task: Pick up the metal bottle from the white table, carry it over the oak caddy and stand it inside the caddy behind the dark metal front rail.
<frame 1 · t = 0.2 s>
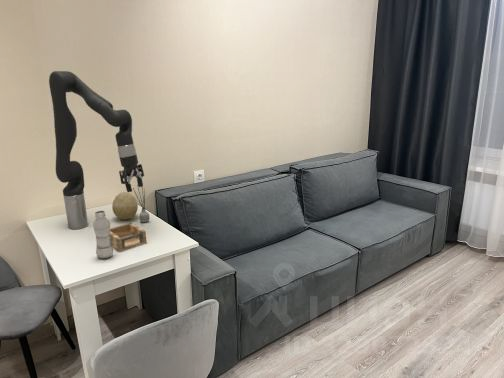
hand: (135, 189, 173), 23 cm above the table, tool pointing down, fingers open, 8 cm apart
metal bottle: (105, 257, 158), on the table
fossilized egg: (126, 219, 200), on the table
caddy: (126, 242, 171), on the table
reed diffuser: (142, 222, 196), on the table
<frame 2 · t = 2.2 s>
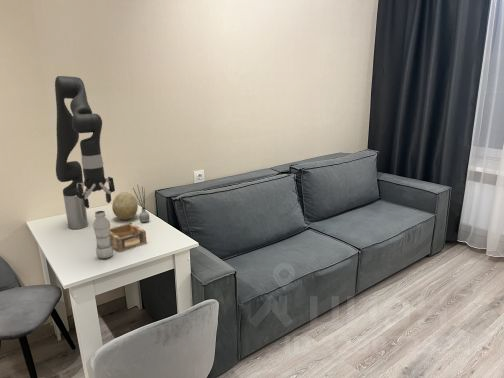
hand: (98, 205, 151), 23 cm above the table, tool pointing down, fingers open, 8 cm apart
nothing on the table moved.
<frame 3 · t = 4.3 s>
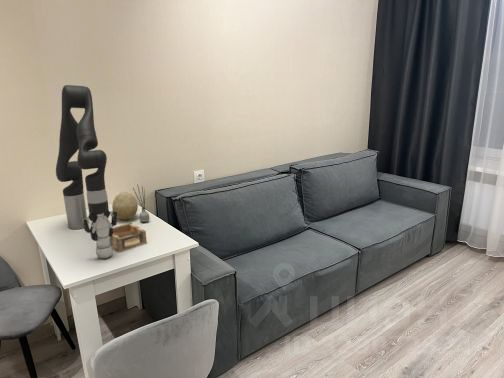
hand: (102, 238, 155), 9 cm above the table, tool pointing down, fingers closed on metal bottle, 6 cm apart
metal bottle: (105, 257, 158), on the table, touching gripper
everything else where it was.
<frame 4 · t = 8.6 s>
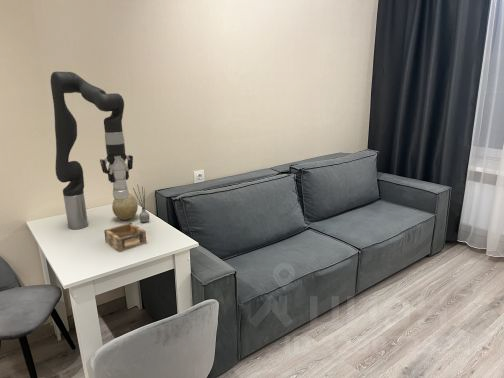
hand: (119, 180, 163), 29 cm above the table, tool pointing down, fingers closed on metal bottle, 6 cm apart
metal bottle: (121, 199, 165), point 21 cm above the table, touching gripper
everything else where it was.
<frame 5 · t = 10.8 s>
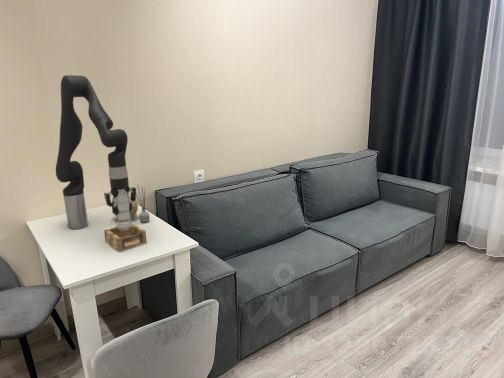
hand: (122, 212, 167), 15 cm above the table, tool pointing down, fingers closed on metal bottle, 6 cm apart
metal bottle: (125, 230, 169), point 6 cm above the table, touching gripper
everything else where it was.
when the fingers open (10 cm above the table, at t = 12.9 s): metal bottle stays where it is, resting on caddy.
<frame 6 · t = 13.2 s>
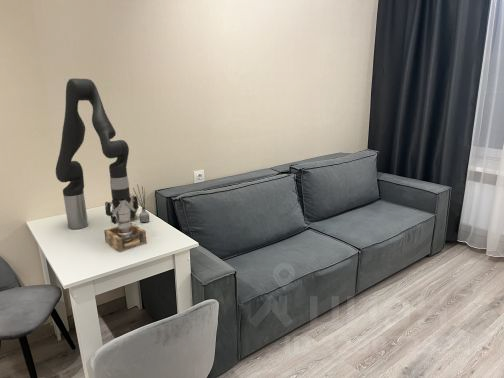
hand: (123, 221, 168), 11 cm above the table, tool pointing down, fingers open, 8 cm apart
metal bottle: (125, 241, 171), point 1 cm above the table, touching caddy
everything else where it was.
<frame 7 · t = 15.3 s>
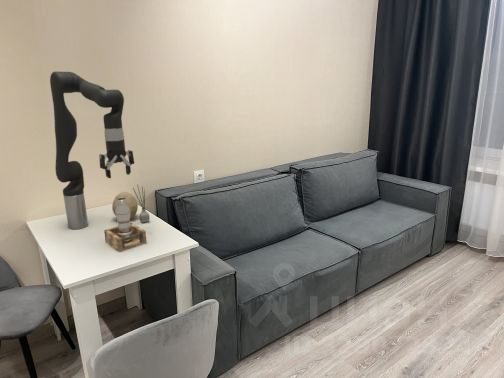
hand: (118, 176, 162), 31 cm above the table, tool pointing down, fingers open, 8 cm apart
nothing on the table moved.
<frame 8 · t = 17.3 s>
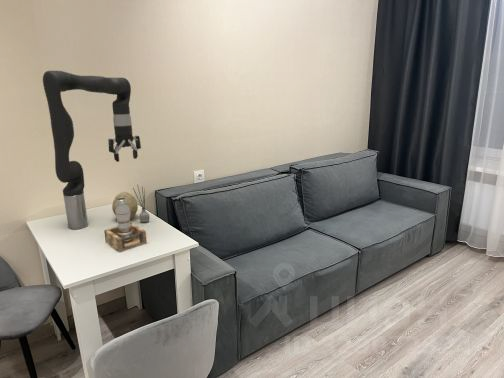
hand: (126, 159, 172), 36 cm above the table, tool pointing down, fingers open, 8 cm apart
nothing on the table moved.
at the end: metal bottle 0.0 cm from the caddy (horizontally); metal bottle tilted 0°; the gripper is holding nothing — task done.
